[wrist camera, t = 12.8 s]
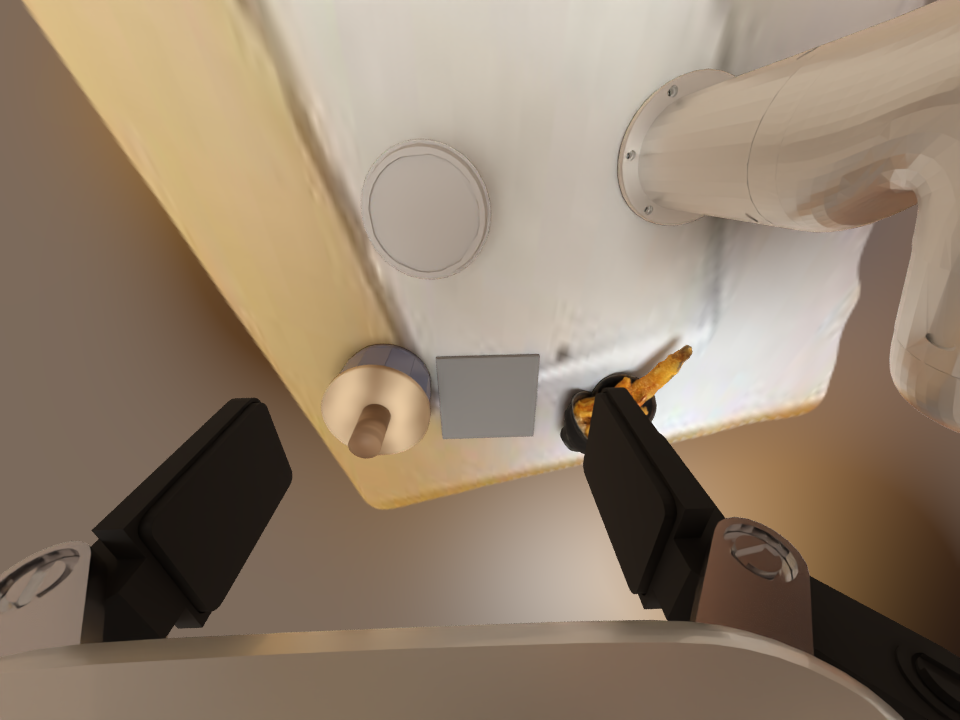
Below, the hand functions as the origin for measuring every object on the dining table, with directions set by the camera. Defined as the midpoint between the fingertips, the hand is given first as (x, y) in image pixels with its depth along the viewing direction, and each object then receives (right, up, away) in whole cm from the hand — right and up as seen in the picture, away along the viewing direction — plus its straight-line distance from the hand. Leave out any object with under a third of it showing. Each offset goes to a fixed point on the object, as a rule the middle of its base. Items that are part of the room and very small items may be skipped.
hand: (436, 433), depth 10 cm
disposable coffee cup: (-3, +18, +25) cm, 31 cm away
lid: (-10, -4, +29) cm, 31 cm away
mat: (+2, -3, +36) cm, 36 cm away
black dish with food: (+19, -2, +36) cm, 41 cm away
